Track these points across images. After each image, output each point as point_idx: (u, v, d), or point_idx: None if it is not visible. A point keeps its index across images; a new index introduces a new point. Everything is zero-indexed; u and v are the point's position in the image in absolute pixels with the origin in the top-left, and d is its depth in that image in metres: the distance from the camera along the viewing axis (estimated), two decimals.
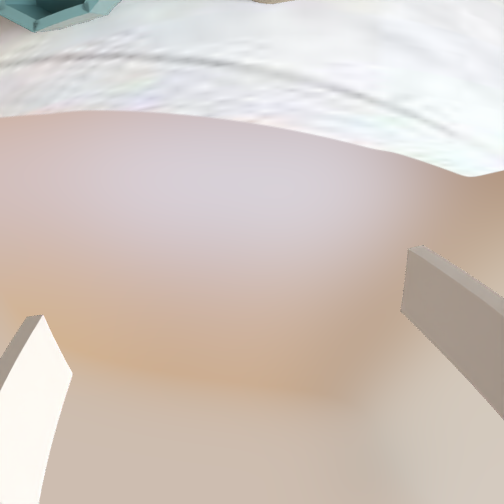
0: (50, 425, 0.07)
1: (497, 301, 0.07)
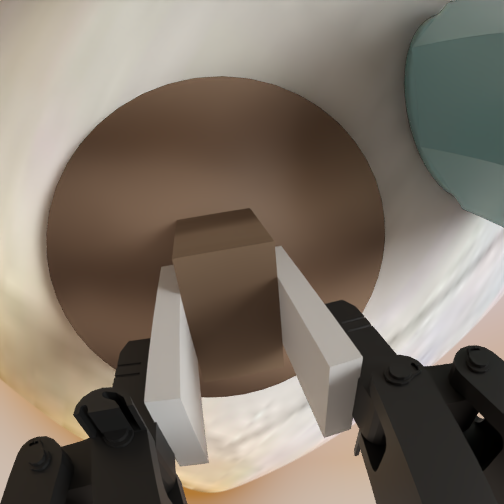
0: (196, 365, 0.10)
1: (310, 305, 0.08)
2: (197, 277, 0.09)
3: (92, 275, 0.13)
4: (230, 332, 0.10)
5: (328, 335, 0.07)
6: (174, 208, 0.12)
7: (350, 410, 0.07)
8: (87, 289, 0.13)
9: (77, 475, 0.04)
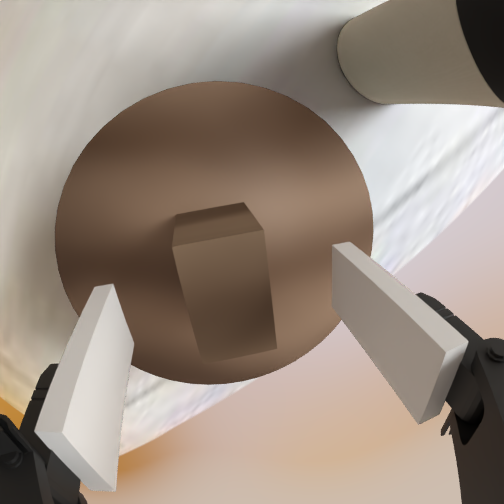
0: (122, 389, 0.09)
1: (405, 297, 0.08)
2: (194, 263, 0.10)
3: (98, 267, 0.14)
4: (226, 315, 0.11)
5: (433, 324, 0.07)
6: (174, 203, 0.13)
7: (445, 394, 0.06)
8: (94, 280, 0.14)
9: None
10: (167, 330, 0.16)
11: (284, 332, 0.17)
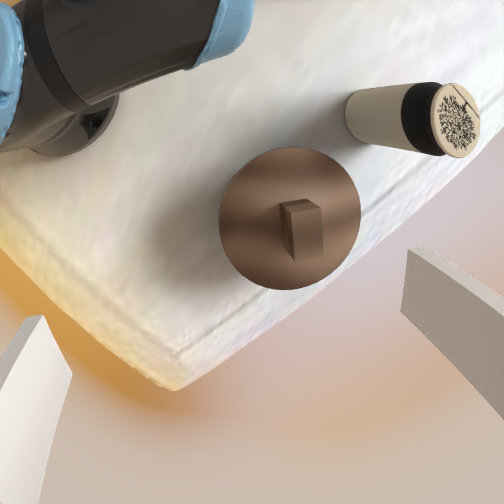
0: (50, 426, 0.07)
1: (497, 301, 0.07)
2: (297, 219, 0.29)
3: (241, 225, 0.33)
4: (306, 239, 0.30)
5: None
6: (278, 198, 0.32)
7: None
8: (237, 231, 0.33)
9: None
10: (268, 257, 0.35)
11: (320, 260, 0.36)
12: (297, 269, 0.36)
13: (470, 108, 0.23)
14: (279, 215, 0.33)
